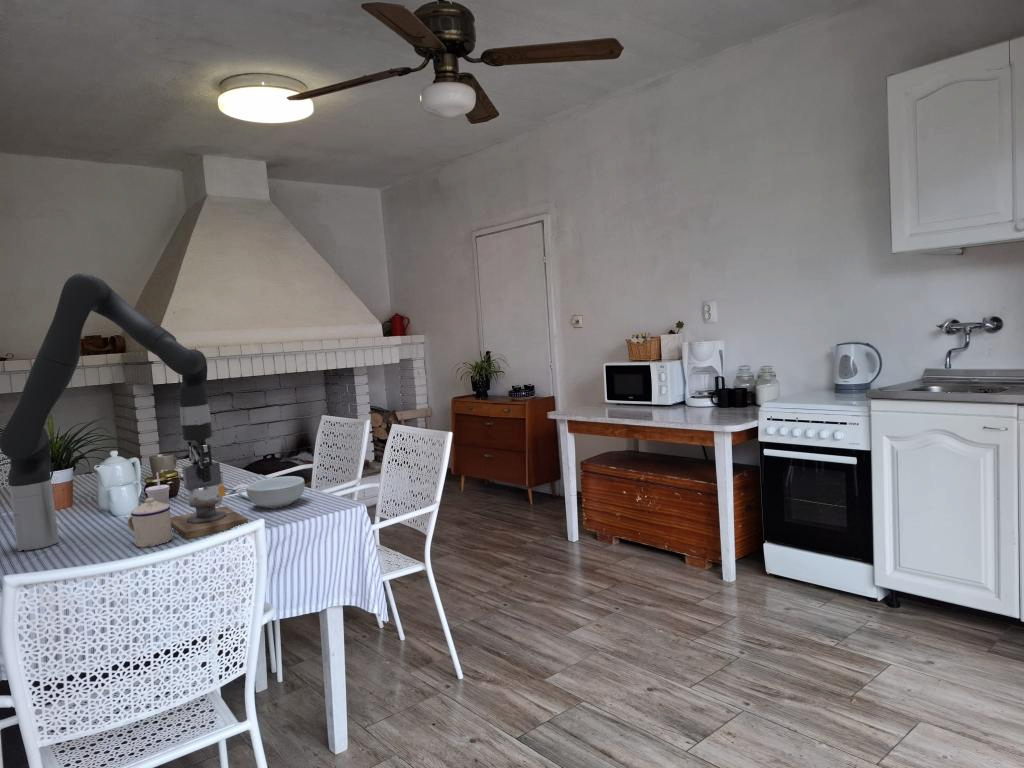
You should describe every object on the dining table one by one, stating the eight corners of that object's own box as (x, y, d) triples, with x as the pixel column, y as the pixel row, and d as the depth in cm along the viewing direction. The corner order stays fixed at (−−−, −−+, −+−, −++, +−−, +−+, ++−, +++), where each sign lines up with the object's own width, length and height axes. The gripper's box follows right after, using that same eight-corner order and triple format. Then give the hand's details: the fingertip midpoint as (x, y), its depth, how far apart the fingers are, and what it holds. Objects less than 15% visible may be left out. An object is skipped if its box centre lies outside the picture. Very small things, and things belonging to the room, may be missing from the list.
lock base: (185, 539, 181) (183, 517, 181) (168, 525, 197) (165, 504, 196) (248, 525, 191) (245, 504, 191) (226, 512, 207) (224, 493, 206)
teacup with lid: (181, 536, 185) (176, 493, 183) (156, 548, 176) (150, 503, 175) (144, 536, 188) (138, 494, 186) (117, 547, 179) (111, 503, 178)
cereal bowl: (236, 512, 207) (233, 488, 206) (271, 497, 223) (269, 475, 222) (284, 513, 202) (281, 489, 201) (317, 498, 217) (315, 476, 217)
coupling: (191, 509, 188) (187, 469, 187) (184, 504, 194) (179, 465, 193) (229, 501, 194) (225, 462, 193) (221, 497, 200) (216, 459, 199)
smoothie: (163, 522, 200) (157, 475, 199) (143, 522, 202) (138, 475, 200) (177, 516, 207) (172, 470, 205) (159, 516, 208) (153, 470, 207)
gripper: (175, 421, 195) (181, 478, 196) (188, 425, 184) (194, 485, 185) (203, 418, 199) (209, 473, 201) (217, 421, 188) (224, 480, 190)
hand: (202, 479), depth 193 cm, fingers open, 8 cm apart
